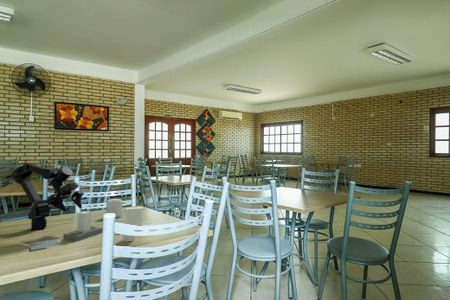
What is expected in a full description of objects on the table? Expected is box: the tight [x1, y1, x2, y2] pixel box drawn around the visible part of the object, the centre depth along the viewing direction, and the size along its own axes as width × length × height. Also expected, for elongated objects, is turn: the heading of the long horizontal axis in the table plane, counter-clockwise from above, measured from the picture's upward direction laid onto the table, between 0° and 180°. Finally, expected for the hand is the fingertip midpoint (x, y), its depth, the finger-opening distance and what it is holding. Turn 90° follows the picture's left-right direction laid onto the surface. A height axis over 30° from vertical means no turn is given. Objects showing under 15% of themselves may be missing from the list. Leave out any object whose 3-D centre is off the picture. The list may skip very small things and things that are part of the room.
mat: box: [29, 238, 61, 252], centre depth 128 cm, size 11×11×1 cm
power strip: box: [62, 225, 104, 242], centre depth 141 cm, size 16×9×4 cm, turn 158°
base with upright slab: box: [125, 206, 144, 227], centre depth 158 cm, size 9×9×12 cm
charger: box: [76, 210, 92, 233], centre depth 141 cm, size 4×5×12 cm
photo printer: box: [105, 198, 123, 218], centre depth 184 cm, size 10×4×12 cm, turn 123°
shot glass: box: [122, 234, 136, 242], centre depth 138 cm, size 7×7×7 cm
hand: (73, 209), depth 145 cm, fingers open, 9 cm apart
